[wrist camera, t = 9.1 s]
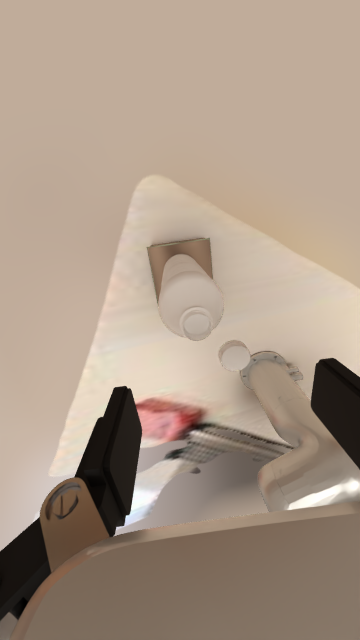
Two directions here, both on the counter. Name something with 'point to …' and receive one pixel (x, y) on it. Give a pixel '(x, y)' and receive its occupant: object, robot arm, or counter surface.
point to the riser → (164, 252)
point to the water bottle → (196, 307)
